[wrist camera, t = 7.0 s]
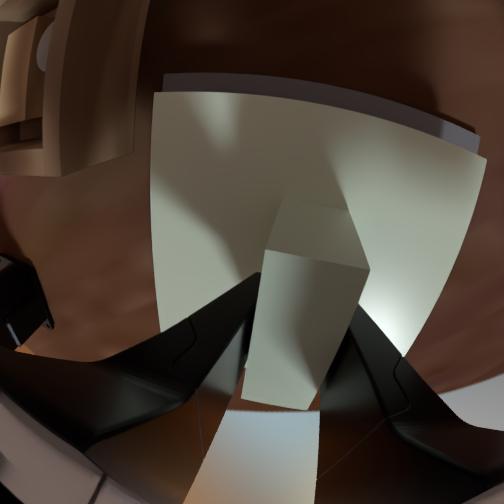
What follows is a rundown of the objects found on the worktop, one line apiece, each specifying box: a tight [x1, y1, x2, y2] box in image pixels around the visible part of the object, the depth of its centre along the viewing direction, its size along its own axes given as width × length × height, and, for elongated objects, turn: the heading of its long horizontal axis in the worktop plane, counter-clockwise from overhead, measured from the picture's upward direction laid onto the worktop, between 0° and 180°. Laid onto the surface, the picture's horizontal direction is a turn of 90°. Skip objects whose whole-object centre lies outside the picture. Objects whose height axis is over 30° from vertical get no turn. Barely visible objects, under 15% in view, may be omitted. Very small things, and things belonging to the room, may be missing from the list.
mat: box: [162, 73, 480, 154], centre depth 11 cm, size 13×13×1 cm
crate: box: [0, 0, 150, 177], centre depth 7 cm, size 10×10×4 cm
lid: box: [150, 92, 487, 410], centre depth 9 cm, size 11×11×6 cm
